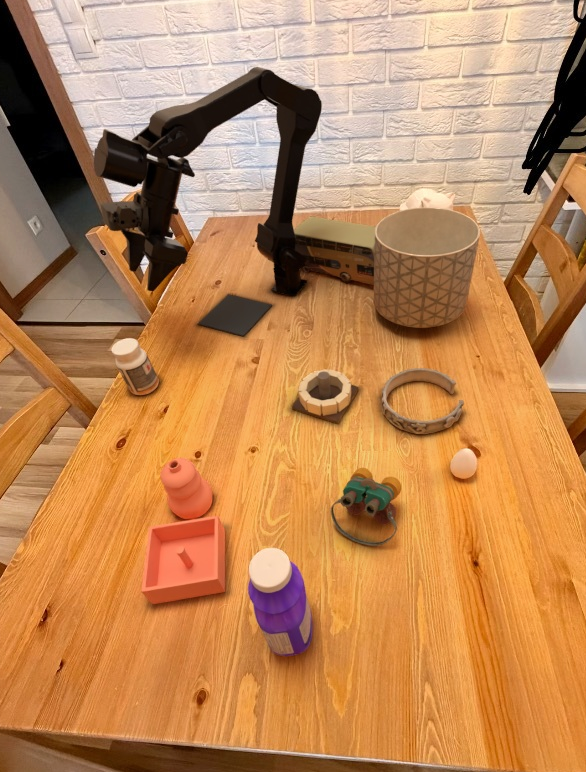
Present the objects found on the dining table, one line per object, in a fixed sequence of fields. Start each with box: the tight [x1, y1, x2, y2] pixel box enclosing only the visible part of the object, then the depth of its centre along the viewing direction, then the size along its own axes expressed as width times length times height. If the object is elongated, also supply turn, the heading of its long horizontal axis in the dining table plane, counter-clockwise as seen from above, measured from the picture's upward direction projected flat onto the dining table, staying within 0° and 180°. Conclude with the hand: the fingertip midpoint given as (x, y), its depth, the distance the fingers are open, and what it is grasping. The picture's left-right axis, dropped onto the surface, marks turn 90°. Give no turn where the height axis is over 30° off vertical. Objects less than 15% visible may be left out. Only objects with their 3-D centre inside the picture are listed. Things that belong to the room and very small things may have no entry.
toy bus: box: [293, 215, 376, 286], centre depth 108 cm, size 10×23×10 cm, turn 58°
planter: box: [373, 207, 481, 329], centre depth 91 cm, size 19×19×18 cm
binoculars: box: [330, 467, 402, 547], centre depth 62 cm, size 9×9×10 cm
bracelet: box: [381, 367, 465, 435], centre depth 79 cm, size 14×14×3 cm
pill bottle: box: [111, 337, 160, 396], centre depth 85 cm, size 6×6×10 cm
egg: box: [449, 447, 478, 480], centre depth 68 cm, size 4×4×6 cm
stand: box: [291, 371, 360, 425], centre depth 80 cm, size 9×9×6 cm
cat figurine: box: [399, 187, 456, 211], centre depth 109 cm, size 25×10×17 cm, turn 8°
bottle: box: [247, 547, 314, 657], centre depth 50 cm, size 7×6×17 cm
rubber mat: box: [197, 294, 273, 337], centre depth 102 cm, size 12×12×1 cm
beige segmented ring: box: [297, 368, 352, 416], centre depth 81 cm, size 9×9×2 cm
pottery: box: [141, 457, 226, 605], centre depth 63 cm, size 18×10×10 cm, turn 8°
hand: (141, 280), depth 86 cm, fingers open, 9 cm apart
